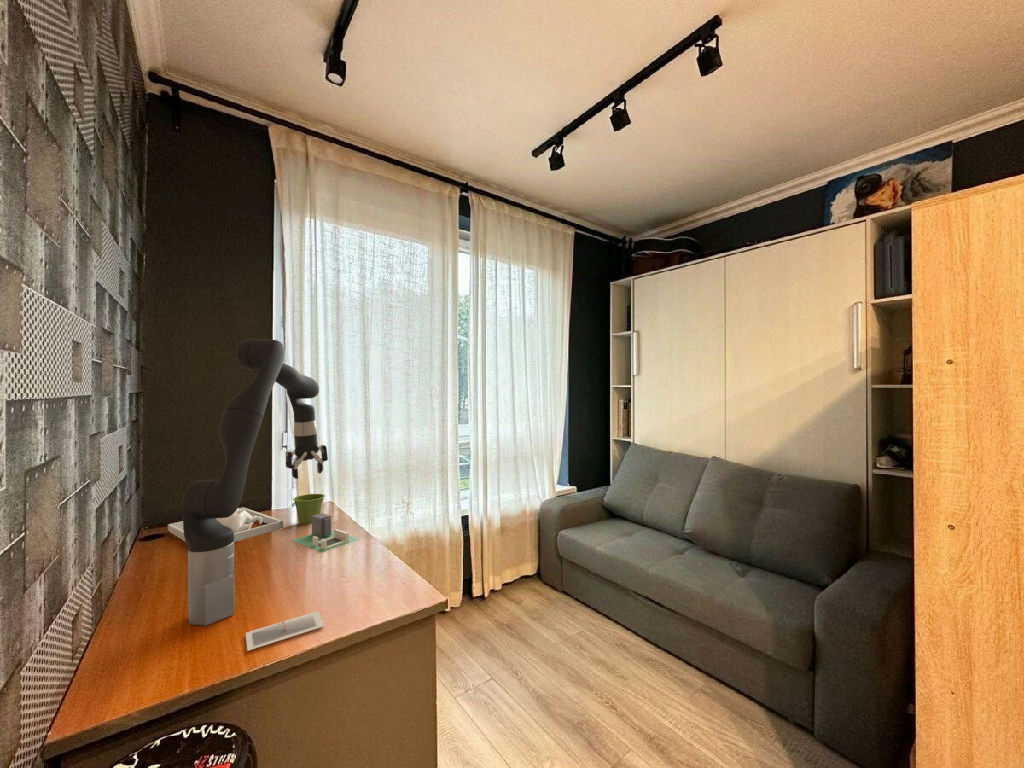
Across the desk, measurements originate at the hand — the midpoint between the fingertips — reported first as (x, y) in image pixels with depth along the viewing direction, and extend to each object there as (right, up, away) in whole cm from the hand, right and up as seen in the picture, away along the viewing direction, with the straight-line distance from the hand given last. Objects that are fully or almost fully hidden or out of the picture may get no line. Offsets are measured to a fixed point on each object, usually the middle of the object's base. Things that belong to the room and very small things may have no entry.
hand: (308, 475), depth 154 cm
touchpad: (+25, -23, -60) cm, 69 cm away
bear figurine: (-33, -24, +6) cm, 42 cm away
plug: (+6, -22, -2) cm, 22 cm away
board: (+10, -23, -7) cm, 26 cm away
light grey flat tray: (-37, -24, +9) cm, 45 cm away
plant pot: (-7, -24, +15) cm, 29 cm away
